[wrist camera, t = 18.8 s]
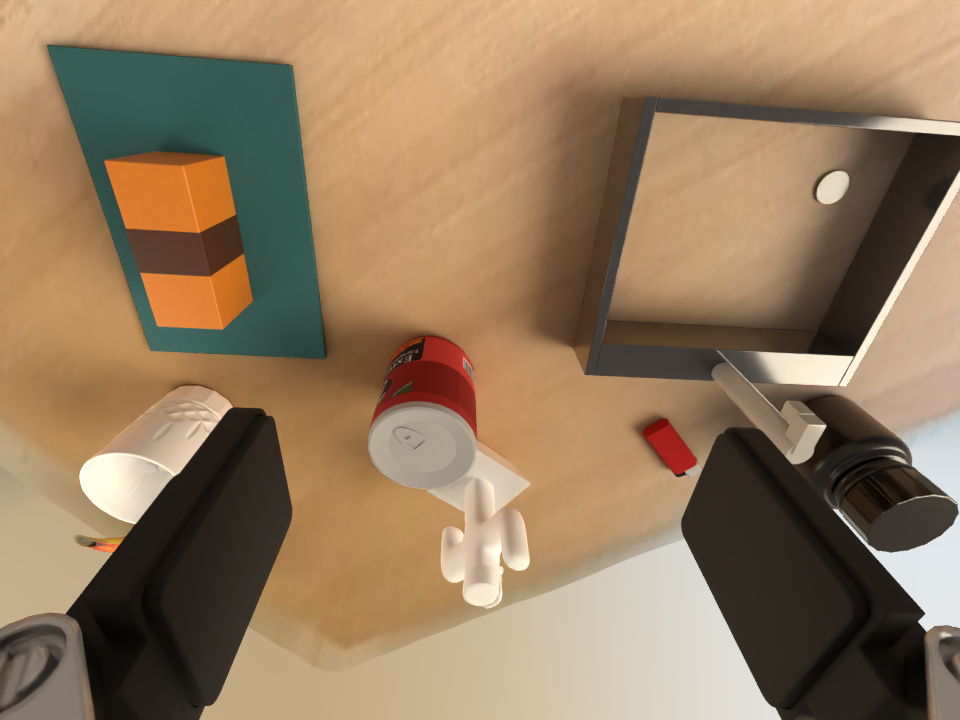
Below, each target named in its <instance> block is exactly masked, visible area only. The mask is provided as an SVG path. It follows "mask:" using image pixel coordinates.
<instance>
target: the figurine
mask: <svg viewBox="0 0 960 720" xmlns="http://www.w3.org/2000/svg"><path fill="white" fill-rule="evenodd" d="M529 485H531V483H530V482H529V481H528V480H527V479H526V478H525V477H524V476H523V475H522V474H521V473H520V472H519V471H518V470H517V469H516V468H515V467H514V466H513V465H512V464H511V463H510V462H509V461H508V460H507V459H506V458H504V457H503V456H501V455H499V454H498V453H496V452H495V451H493V450H492V449H490V448H489V447H487V446H486V445H484V444H482V443H481V442H479V441H478V440H477V450H476V458H475V461H474V464H473V466H472V468H471V469H470V471H469V472H468V473H467V474H466V475H465V476H464V477H463V478H462V479H460V480H459V481H457V482H456V483H453V484H451V485H448V486H446V487H441V488H437V489H429V490H428V492H429V493H431V494H432V495H434V496H436V497H438V498H439V499H441V500H443V501H445V502H446V503H448V504H450V505H452V506H454V507H455V508H457V509H459V510H461V511H462V512H464V513H465V532H464V534H463V533H462V531H461V530H460V529H458V528H456V527H453V526H449V527H446V528H445V529H444V530H443V533H442V546H441V569H442V573H443V576H444V577H445V578H446V579H447V580H448V581H449V582H452V583H456V582H459V581H461V580H463V579H464V585H463V597H464V599H465V600H466V601H467V602H468V603H470V604H472V605H476V606H483V607H484V608H491V607H494V606H496V605H497V604H498V603H499V602H500V601H501V598H502V584H501V580H502V577H501V575H502V574H503V567H501V566H500V565H499V563H500V559H499V556H500V553H501V551H502V555H503V560H504V562H505V563H506V565H507V566H508V567H510V568H512V569H514V570H518V571H521V570H524V569H526V568H527V567H528V565H529V551H528V544H527V537H526V530H525V524H524V521H523V518H522V516H521V514H520V513H519V511H518V510H517V509H515V508H513V507H510V506H508V507H504V508H502V507H503V506H505V505H506V504H507V503H508V502H510V501H511V500H512V499H513V498H515V497H516V496H517V495H518V494H520V493H521V492H522V491H523V490H524V489H526V488H527V487H528V486H529ZM501 508H502V509H501ZM497 511H498V512H497ZM496 512H497V513H496ZM502 581H503V580H502Z"/></svg>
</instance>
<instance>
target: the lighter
mask: <svg viewBox="0 0 960 720" xmlns="http://www.w3.org/2000/svg"><path fill="white" fill-rule="evenodd" d="M642 433H643V435H644V437H645V438H646V439H647V440H648V442H649V443H650V444H651V445H652V447H653V448H654V449H655V451H656V452H657V453H658V454H659V456H660V457H661V458H662V459H663V461H664V462H665V463H666V465H667V466H668V467H669V468H670V470H671V471H672V472H673V473H674V474H675V476H677V477H681V476H684V475H686V477H688V478H689V477H693V476H695V475H697V474H699V473H700V472H701V471H702V466H701V465H700V463H699V462H698V461H697V458H696V457H695V456H694V455H693V454H692V452H691V451H690V450H689V448H688V447H687V446H686V444H685V443H684V441H683V440H682V439H681V437H680V436H679V435H678V433H677V432H676V431H675V429H674V428H673V426H672V425H671V424H670V422H669V421H668V420H667V419H665V418H664V419H661V420H659V421H657V422H655V423H653V424H651V425H650V426H648V427H646V428H645V429H644V430H643V432H642Z"/></svg>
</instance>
